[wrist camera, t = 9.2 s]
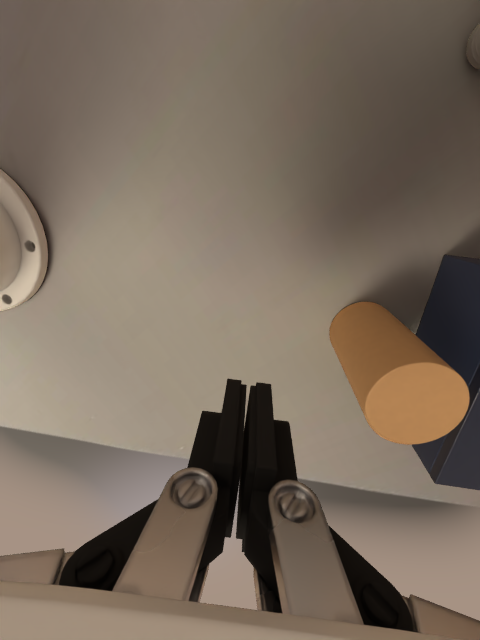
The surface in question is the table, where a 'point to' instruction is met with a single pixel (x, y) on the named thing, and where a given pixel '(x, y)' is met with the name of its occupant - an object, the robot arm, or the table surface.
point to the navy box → (455, 368)
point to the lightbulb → (474, 48)
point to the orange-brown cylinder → (397, 376)
